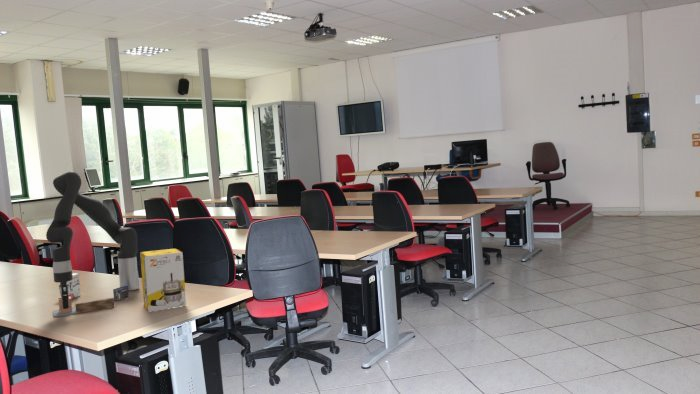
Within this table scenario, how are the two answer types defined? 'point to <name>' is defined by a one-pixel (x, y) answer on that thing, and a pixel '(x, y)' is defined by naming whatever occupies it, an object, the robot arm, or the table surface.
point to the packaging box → (163, 279)
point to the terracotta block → (62, 306)
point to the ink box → (74, 286)
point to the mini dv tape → (120, 293)
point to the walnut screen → (94, 305)
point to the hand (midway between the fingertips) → (65, 306)
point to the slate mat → (57, 313)
